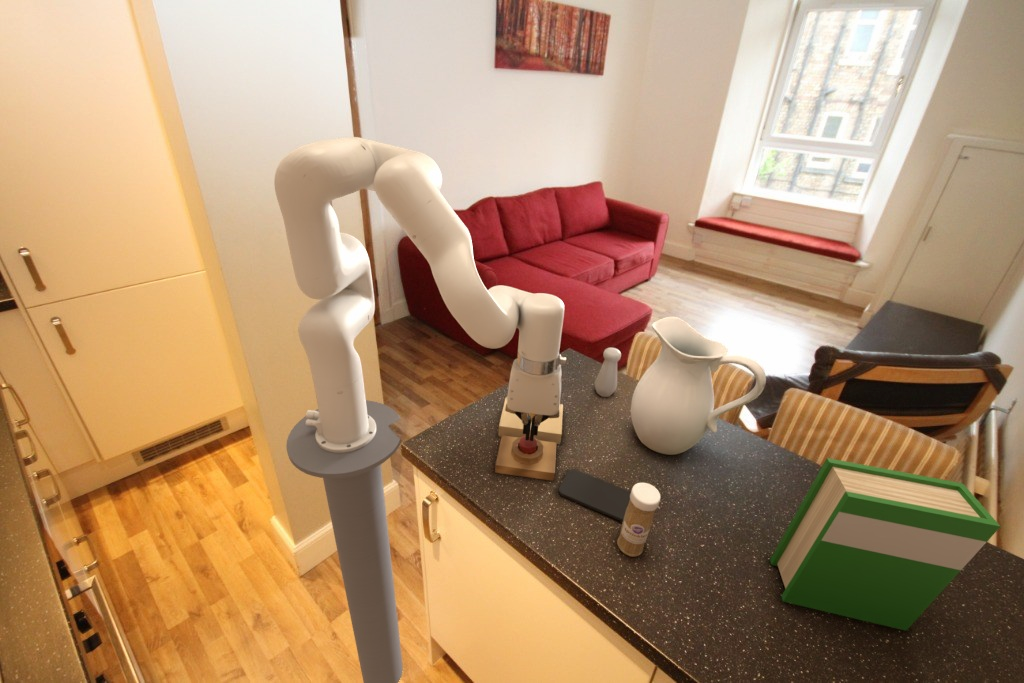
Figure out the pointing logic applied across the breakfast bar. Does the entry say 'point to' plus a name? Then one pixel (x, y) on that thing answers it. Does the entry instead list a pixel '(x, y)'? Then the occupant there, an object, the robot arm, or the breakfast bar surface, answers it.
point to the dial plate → (514, 427)
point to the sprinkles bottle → (638, 518)
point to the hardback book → (878, 542)
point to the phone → (595, 494)
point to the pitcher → (684, 388)
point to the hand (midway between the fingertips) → (529, 436)
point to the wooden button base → (526, 459)
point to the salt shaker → (608, 373)
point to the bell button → (527, 445)
